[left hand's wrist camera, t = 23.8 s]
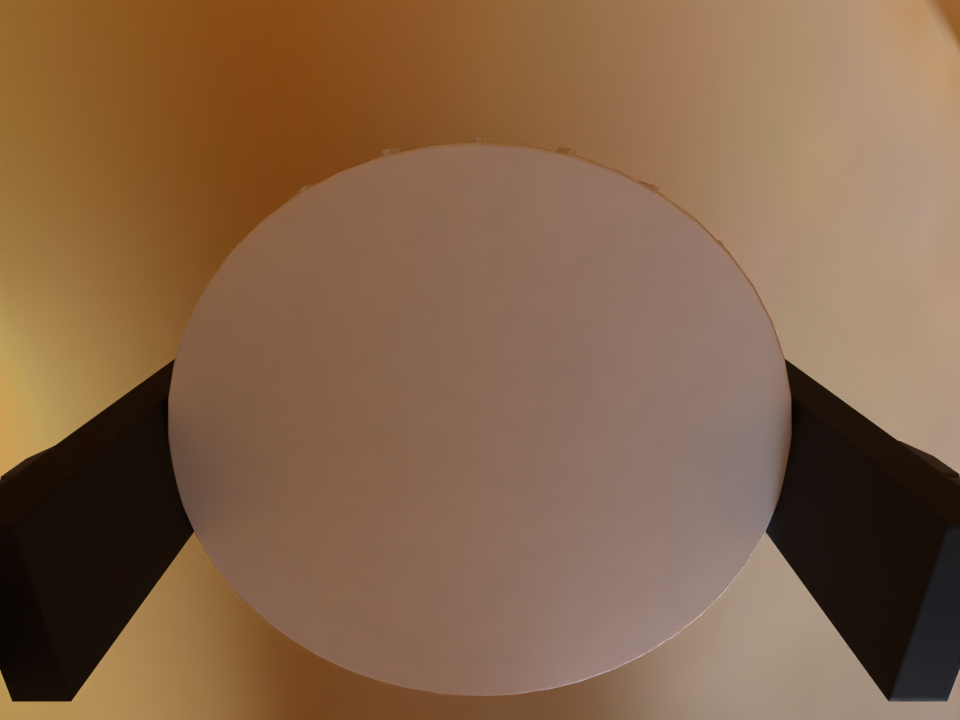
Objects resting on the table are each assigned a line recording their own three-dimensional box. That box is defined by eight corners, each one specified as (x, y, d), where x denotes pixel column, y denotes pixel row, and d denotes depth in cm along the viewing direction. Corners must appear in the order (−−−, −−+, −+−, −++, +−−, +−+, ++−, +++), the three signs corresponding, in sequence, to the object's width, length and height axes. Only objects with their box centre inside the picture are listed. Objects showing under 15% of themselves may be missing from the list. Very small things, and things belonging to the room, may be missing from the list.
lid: (96, 378, 11) (28, 421, 10) (540, -8, 9) (554, -41, 7) (440, 696, 14) (436, 771, 13) (841, 464, 12) (901, 517, 10)
